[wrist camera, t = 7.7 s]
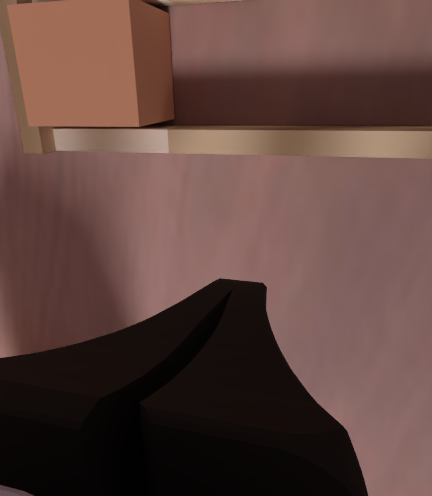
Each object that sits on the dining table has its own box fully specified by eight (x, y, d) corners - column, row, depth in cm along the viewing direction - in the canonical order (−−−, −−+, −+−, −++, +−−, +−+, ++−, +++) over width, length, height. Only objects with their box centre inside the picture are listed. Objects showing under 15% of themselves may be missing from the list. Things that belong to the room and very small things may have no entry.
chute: (480, -49, 14) (515, -80, 12) (443, 151, 17) (464, 163, 14) (38, -10, 19) (-10, -26, 16) (62, 144, 21) (24, 153, 19)
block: (168, 13, 18) (128, -5, 14) (174, 118, 19) (139, 126, 16) (67, 20, 19) (6, 5, 15) (81, 119, 21) (28, 126, 17)
